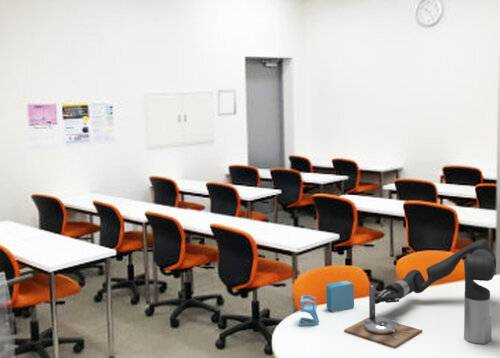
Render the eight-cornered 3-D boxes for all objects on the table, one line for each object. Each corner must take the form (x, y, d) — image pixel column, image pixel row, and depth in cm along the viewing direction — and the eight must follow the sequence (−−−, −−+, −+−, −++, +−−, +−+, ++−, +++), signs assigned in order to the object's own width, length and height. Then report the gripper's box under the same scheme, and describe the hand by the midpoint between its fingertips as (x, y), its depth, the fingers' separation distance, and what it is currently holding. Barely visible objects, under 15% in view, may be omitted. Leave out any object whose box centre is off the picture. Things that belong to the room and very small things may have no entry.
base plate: (422, 332, 236) (422, 329, 236) (395, 348, 222) (395, 345, 222) (372, 317, 253) (371, 315, 253) (344, 332, 239) (344, 329, 239)
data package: (349, 305, 269) (348, 280, 268) (354, 308, 265) (354, 282, 264) (326, 309, 265) (325, 284, 263) (331, 312, 261) (330, 287, 259)
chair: (318, 327, 246) (317, 299, 244) (298, 326, 247) (297, 299, 246) (319, 320, 253) (319, 293, 251) (300, 319, 255) (299, 293, 253)
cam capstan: (408, 333, 232) (408, 294, 230) (380, 339, 228) (380, 300, 225) (383, 318, 248) (383, 282, 245) (357, 324, 243) (357, 287, 241)
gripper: (410, 302, 253) (388, 313, 241) (384, 295, 262) (361, 306, 250) (410, 285, 252) (388, 296, 240) (384, 279, 261) (361, 289, 249)
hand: (374, 301), depth 245 cm, fingers closed
